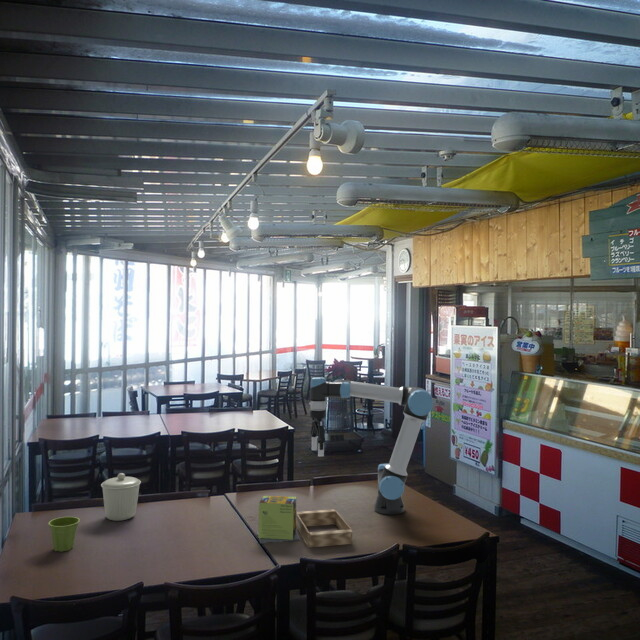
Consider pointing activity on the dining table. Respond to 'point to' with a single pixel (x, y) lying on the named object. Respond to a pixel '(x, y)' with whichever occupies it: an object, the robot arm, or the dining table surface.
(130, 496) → the canister
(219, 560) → the dining table surface
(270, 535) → the protein box
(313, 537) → the open wooden box
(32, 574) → the dining table surface
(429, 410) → the robot arm
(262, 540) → the mat
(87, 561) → the dining table surface
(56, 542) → the plant pot
